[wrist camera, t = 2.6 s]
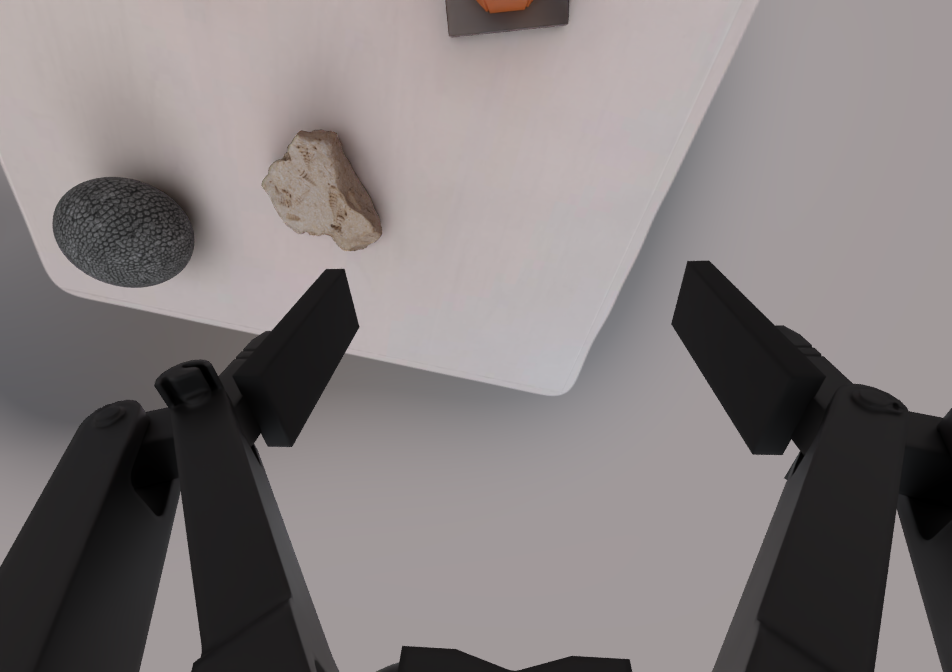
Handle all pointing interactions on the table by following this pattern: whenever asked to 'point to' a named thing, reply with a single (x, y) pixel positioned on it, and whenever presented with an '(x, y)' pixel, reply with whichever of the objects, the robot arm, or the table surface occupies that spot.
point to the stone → (322, 192)
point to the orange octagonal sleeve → (504, 5)
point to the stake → (503, 17)
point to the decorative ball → (123, 232)
